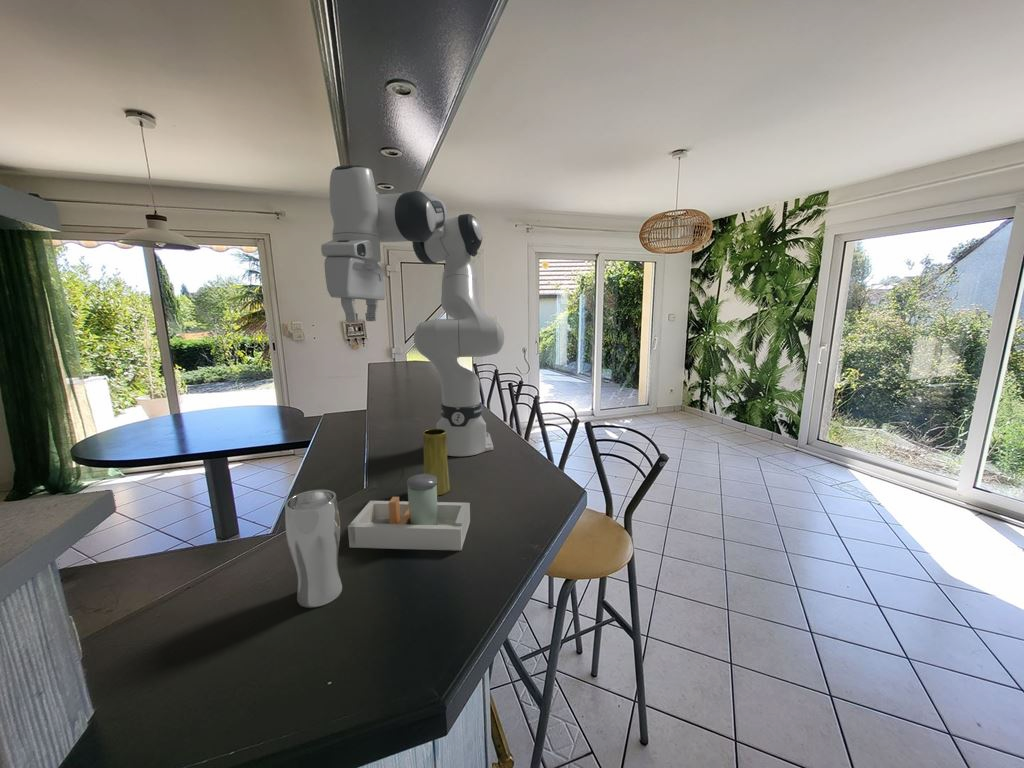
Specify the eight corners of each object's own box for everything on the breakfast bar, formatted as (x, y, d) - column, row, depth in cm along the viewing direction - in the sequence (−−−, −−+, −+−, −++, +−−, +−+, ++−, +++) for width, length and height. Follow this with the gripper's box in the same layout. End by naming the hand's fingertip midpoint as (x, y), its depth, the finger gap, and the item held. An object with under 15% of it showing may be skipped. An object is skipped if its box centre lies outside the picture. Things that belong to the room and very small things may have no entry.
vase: (444, 497, 92) (442, 436, 90) (419, 494, 93) (416, 434, 91) (453, 485, 98) (451, 428, 95) (429, 483, 99) (427, 427, 97)
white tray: (371, 519, 82) (370, 498, 82) (470, 521, 81) (469, 500, 81) (349, 547, 73) (347, 524, 72) (461, 550, 71) (460, 526, 71)
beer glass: (309, 578, 64) (300, 488, 62) (353, 578, 64) (345, 489, 61) (283, 610, 57) (272, 510, 55) (332, 611, 57) (323, 511, 55)
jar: (414, 521, 80) (411, 473, 78) (441, 522, 79) (439, 474, 77) (405, 536, 74) (402, 485, 72) (435, 537, 74) (432, 486, 72)
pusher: (381, 517, 81) (379, 491, 80) (415, 518, 80) (414, 491, 79) (366, 536, 74) (364, 508, 73) (404, 537, 73) (402, 508, 72)
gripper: (363, 258, 92) (367, 320, 95) (315, 244, 72) (322, 323, 75) (390, 258, 92) (394, 320, 95) (350, 243, 72) (356, 323, 74)
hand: (362, 321), depth 84 cm, fingers open, 8 cm apart
